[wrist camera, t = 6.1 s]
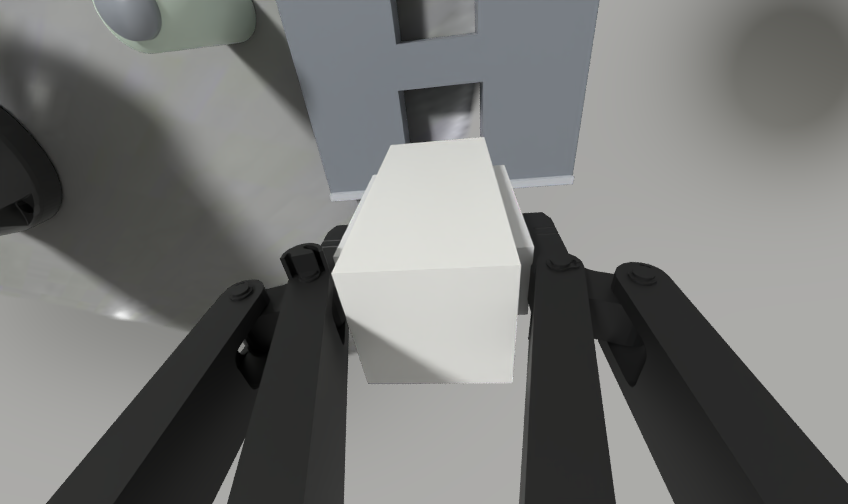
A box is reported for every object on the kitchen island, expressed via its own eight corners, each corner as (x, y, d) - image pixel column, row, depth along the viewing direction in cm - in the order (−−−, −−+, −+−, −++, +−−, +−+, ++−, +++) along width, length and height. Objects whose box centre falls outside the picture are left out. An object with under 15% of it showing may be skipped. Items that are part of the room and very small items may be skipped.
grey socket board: (341, 185, 32) (331, 201, 29) (273, -77, 21) (246, -90, 19) (561, 168, 29) (572, 184, 27) (600, -133, 19) (626, -157, 16)
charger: (402, 225, 19) (366, 384, 11) (389, 145, 16) (329, 273, 8) (485, 220, 18) (514, 383, 10) (485, 136, 16) (523, 265, 8)
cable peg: (215, 46, 26) (112, 58, 18) (189, -21, 23) (58, -40, 16) (264, 39, 25) (181, 50, 17) (242, -29, 23) (135, -53, 15)
